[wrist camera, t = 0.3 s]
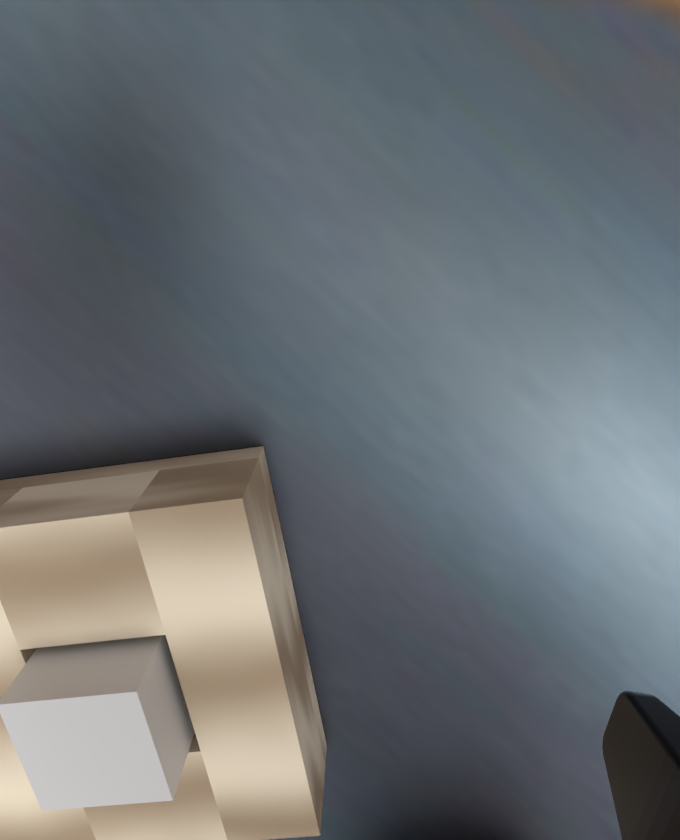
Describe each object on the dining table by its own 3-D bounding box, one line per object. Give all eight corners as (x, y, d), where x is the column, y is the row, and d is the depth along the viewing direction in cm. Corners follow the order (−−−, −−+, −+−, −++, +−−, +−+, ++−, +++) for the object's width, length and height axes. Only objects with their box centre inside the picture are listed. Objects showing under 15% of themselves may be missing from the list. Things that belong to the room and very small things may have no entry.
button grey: (200, 714, 23) (172, 800, 20) (87, 724, 24) (42, 810, 20) (171, 615, 22) (136, 691, 18) (51, 628, 22) (-4, 705, 19)
